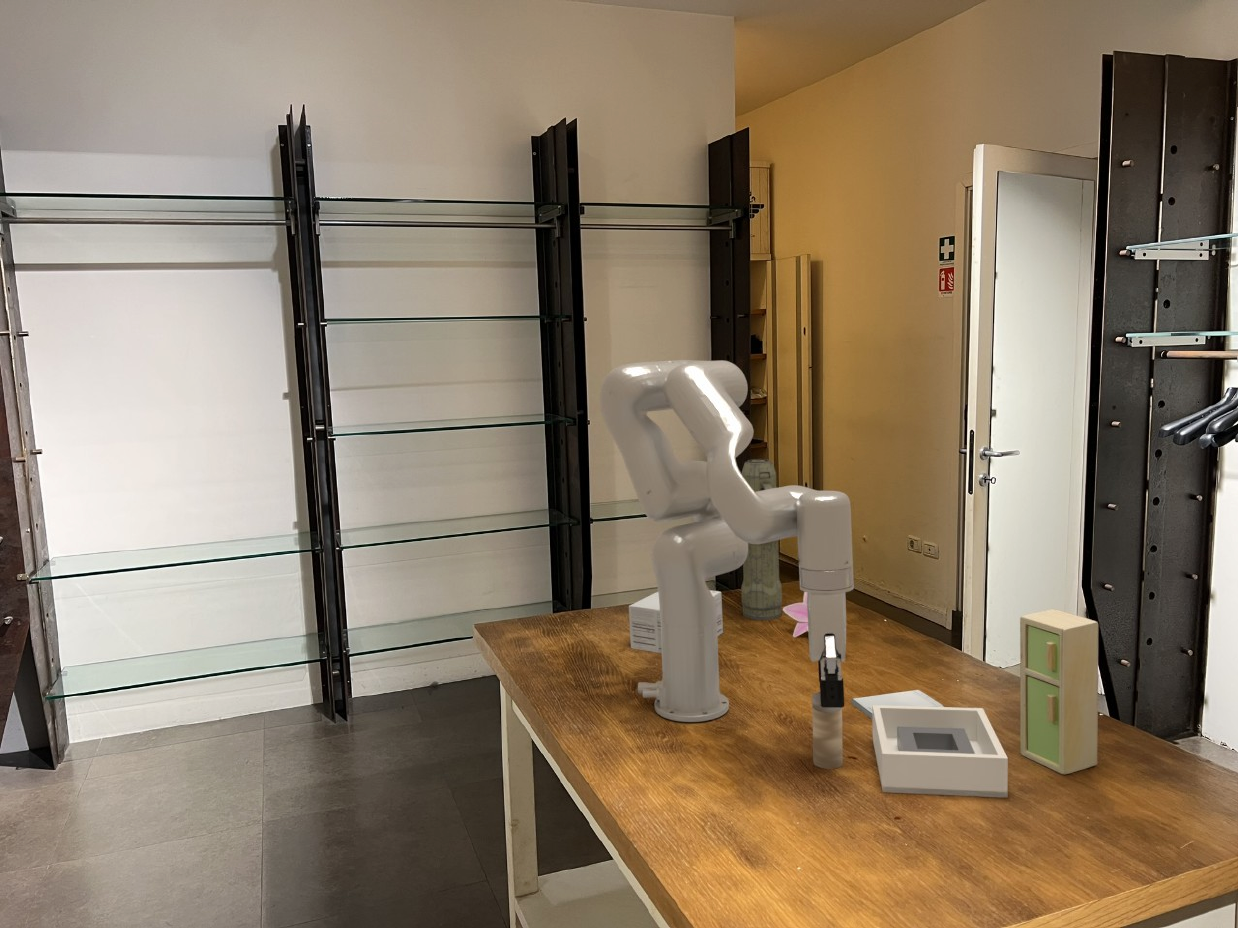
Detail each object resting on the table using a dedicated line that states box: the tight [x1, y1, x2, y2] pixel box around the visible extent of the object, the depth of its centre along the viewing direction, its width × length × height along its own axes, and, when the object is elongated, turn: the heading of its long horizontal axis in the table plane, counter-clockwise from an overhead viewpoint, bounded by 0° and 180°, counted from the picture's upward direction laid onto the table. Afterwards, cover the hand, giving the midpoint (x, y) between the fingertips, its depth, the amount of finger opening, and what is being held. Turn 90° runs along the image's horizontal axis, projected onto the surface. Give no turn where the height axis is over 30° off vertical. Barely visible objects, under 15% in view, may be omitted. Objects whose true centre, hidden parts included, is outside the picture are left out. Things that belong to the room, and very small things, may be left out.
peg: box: [811, 691, 844, 770], centre depth 136 cm, size 4×4×10 cm
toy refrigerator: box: [1019, 608, 1099, 775], centre depth 133 cm, size 8×7×21 cm
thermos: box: [741, 458, 783, 621], centre depth 209 cm, size 9×12×35 cm
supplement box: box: [628, 589, 724, 654], centre depth 195 cm, size 17×13×9 cm
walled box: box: [872, 705, 1009, 799], centre depth 134 cm, size 16×17×6 cm
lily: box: [782, 591, 808, 638], centre depth 195 cm, size 12×12×10 cm
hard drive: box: [851, 689, 945, 721], centre depth 156 cm, size 2×8×12 cm
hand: (831, 694), depth 135 cm, fingers open, 9 cm apart
